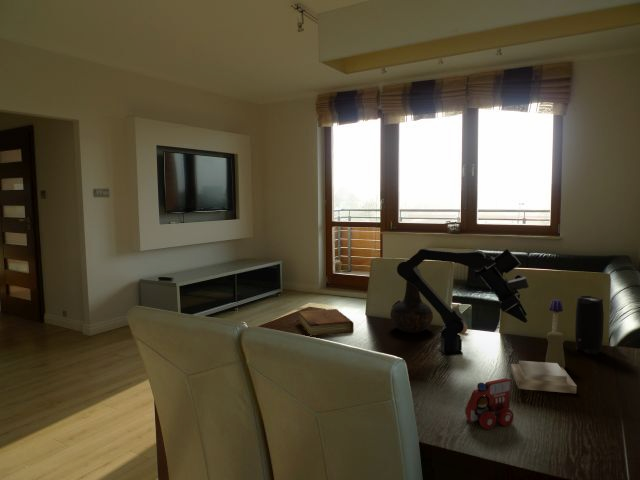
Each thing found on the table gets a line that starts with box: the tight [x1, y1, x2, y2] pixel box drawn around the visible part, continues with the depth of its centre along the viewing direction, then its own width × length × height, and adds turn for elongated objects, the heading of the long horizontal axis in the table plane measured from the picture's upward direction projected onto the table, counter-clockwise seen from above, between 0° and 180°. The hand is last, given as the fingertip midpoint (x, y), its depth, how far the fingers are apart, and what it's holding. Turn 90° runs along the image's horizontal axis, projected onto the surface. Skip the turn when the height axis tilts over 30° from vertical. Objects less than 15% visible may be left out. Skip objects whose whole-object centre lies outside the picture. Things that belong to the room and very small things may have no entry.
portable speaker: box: [574, 295, 605, 355], centre depth 162 cm, size 9×9×20 cm
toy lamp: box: [547, 298, 564, 343], centre depth 172 cm, size 5×5×17 cm
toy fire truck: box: [464, 377, 515, 430], centre depth 111 cm, size 7×12×10 cm, turn 109°
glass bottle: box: [389, 265, 434, 334], centre depth 193 cm, size 18×18×28 cm
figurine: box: [452, 304, 468, 334], centre depth 188 cm, size 8×6×12 cm
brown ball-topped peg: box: [544, 331, 566, 369], centre depth 149 cm, size 6×6×11 cm
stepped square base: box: [510, 360, 577, 394], centre depth 136 cm, size 15×15×4 cm
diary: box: [298, 308, 355, 337], centre depth 200 cm, size 23×19×6 cm
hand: (526, 318), depth 154 cm, fingers open, 9 cm apart
